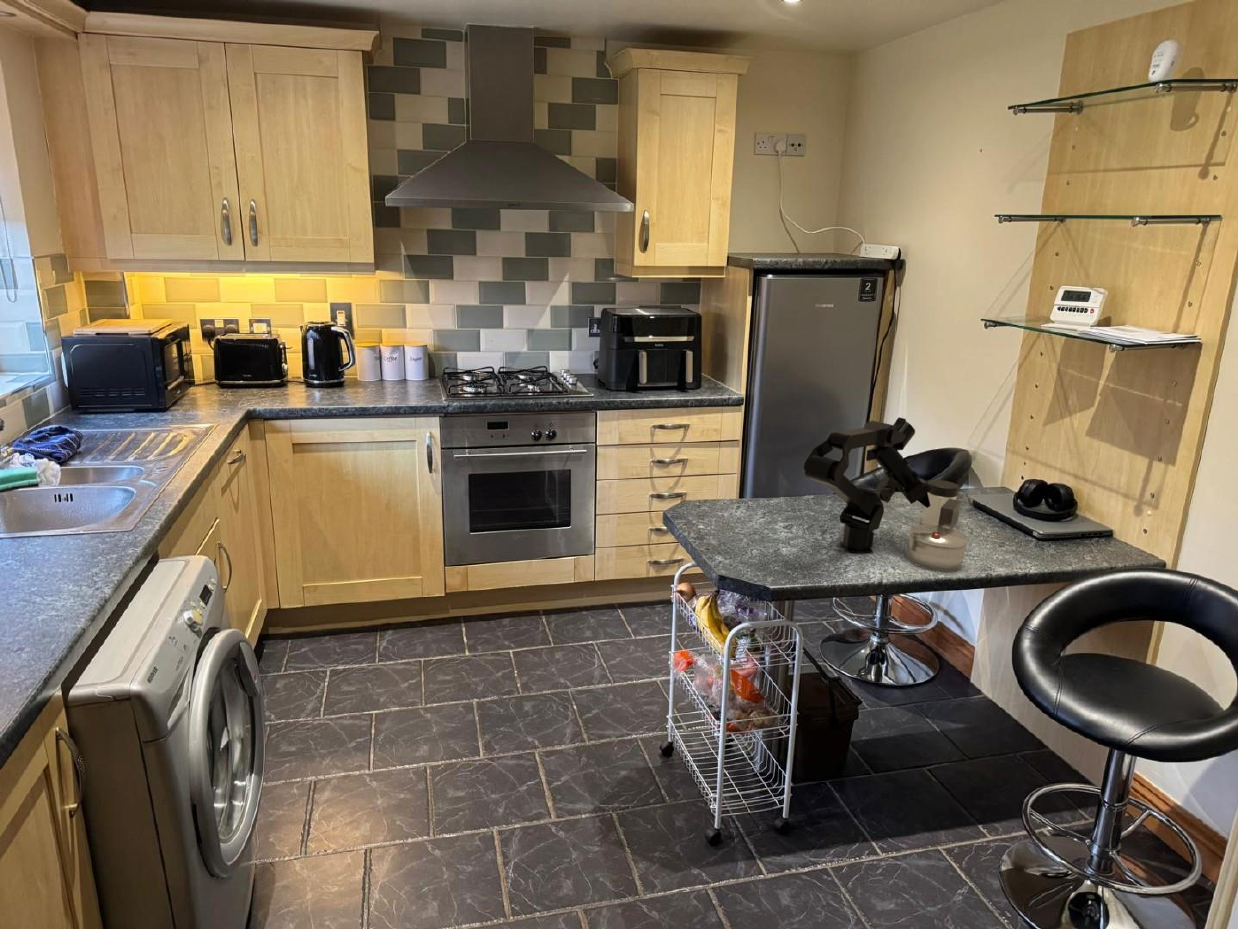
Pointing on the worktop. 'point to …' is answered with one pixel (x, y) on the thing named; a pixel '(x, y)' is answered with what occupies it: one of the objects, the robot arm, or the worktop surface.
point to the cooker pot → (935, 556)
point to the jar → (938, 500)
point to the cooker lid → (942, 529)
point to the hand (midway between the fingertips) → (928, 506)
